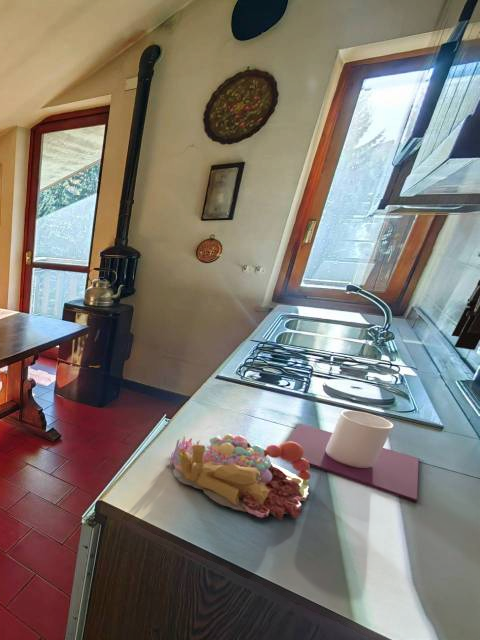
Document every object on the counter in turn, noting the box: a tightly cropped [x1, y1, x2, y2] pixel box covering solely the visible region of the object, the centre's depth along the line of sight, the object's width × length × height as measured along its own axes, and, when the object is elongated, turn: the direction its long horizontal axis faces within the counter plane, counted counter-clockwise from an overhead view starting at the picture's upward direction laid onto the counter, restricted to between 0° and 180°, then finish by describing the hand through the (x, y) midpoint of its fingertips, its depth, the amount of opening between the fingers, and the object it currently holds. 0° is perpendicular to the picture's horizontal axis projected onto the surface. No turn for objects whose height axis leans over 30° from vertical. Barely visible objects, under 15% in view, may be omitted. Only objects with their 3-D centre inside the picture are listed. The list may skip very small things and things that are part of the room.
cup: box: [326, 410, 394, 468], centre depth 88 cm, size 8×12×10 cm
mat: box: [286, 423, 420, 503], centre depth 90 cm, size 22×22×1 cm
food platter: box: [169, 433, 312, 522], centre depth 79 cm, size 25×24×9 cm
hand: (462, 342), depth 84 cm, fingers open, 13 cm apart
